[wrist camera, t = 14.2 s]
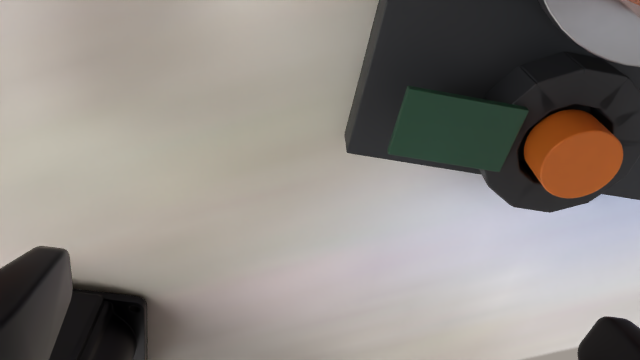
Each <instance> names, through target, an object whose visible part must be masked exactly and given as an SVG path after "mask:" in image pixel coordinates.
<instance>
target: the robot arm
mask: <svg viewBox="0 0 640 360" xmlns="http://www.w3.org/2000/svg"><path fill="white" fill-rule="evenodd" d="M0 360H147V303H146V301H145V300H144V299H143V298H141V297H138V296H131V295H122V294H113V293H105V292H96V291H88V290H79V289H73V285H72V275H71V265H70V256H69V253H68V251H67V250H65V249H63V248H55V247H47V246H38V247H35V248H33V249H32V250H30V251H28V252H27V253H25V254H23V255H22V256H20V257H19V258H17V259H15V260H14V261H12V262H10V263H9V264H7V265H6V266H4V267H2V268H1V269H0ZM578 360H640V328H639V327H637V326H636V325H635V324H633V323H632V322H630V321H629V320H627V319H623V318H616V317H607V316H606V317H602V318H600V319H599V320H598V321H597V322H596V323H595V325H594V326H593V327H592V329H591V330H590V331H589V333H588V334H587V335H586V337H585V338H584V339H583V340H582V342H581V343H580V345H579V348H578Z"/></svg>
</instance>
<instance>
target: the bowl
mask: <svg viewBox="0 0 640 360" xmlns="http://www.w3.org/2000/svg"><path fill="white" fill-rule="evenodd" d="M620 1H621V2H622V3H623V4H625V5H626V6H627V7H628V8H629V9H630V10H631V11H632V12H633V13H635V14H636V15H637V16H638V17H639V18H640V0H620Z"/></svg>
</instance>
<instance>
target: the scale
mask: <svg viewBox="0 0 640 360" xmlns="http://www.w3.org/2000/svg"><path fill="white" fill-rule="evenodd" d="M407 86H414V87H419V88H425V89H430V90H436V91H441V92H447V93H452V94H458V95H463V96H469V97H474V98H480V99H485V100H491V101H496V102H502V103H507V104H513V105H518V106H524V107H526V108H527V109H528V110H529V112H528V114H527V116H526V118H525V120H524V122H523V125H522V127H521V129H520V131H519V133H518V135H517V137H516V139H515V141H514V143H513V145H512V147H511V149H510V151H509V153H508V156H507V158H506V160H505V162H504V164H503V166H502V168H501V170H500V172H495V171H489V170H483V169H476V168H470V167H464V166H458V165H452V164H446V163H439V162H433V161H427V160H421V159H415V158H409V157H403V156H396V155H390V154H388V151H387V149H388V145H389V142H390V139H391V136H392V133H393V130H394V127H395V123H396V120H397V117H398V114H399V111H400V108H401V105H402V102H403V98H404V95H405V92H406V89H407ZM572 109H575V110H582V111H585V112H588V113H590V114H591V115H593V116H594V117H595V118H596V119H597V120H598V121H599V122H600V123H601V124H602V125H603V126H605V127H606V128H607V129H608V130H609V131H610V132H611V133H612V134H613V135H614V136H615V137H616V138H617V139H618V140H619V141H620V143H621V145H622V148H623V161H622V164H621V167H620V169H619V170H618V172H617V174H616V175H615V176H614V178H613V179H612V180H611V181H610V182H609V183H608V184H606V185H605V186H604V187H602V188H601V189H599V190H598V191H596V192H594V193H591V194H589V195H586V196H583V197H578V198H561V197H557V196H555V195H552V194H551V193H549V192H548V191H546V189H545V188H544V187H543V186H542V184H541V183H540V181H539V180H538V179H537V177H536V176H535V174H534V173H533V171H532V170H531V169H530V167H529V166H528V164H527V163H526V161H525V158H524V144H525V141H526V138H527V136H528V135H529V133H530V131H531V130H532V129H533V128H534V127H535V125H536V124H538V123H539V122H540V121H541V120H543V119H544V118H546V117H547V116H549V115H551V114H553V113H556V112H559V111H563V110H572ZM345 142H346V150H347V153H351V154H357V155H364V156H370V157H376V158H382V159H388V160H395V161H401V162H407V163H413V164H420V165H426V166H432V167H438V168H444V169H451V170H457V171H463V172H469V173H475V174H482V176H483V178H484V180H485V182H486V183H487V185H488V187H490V188H491V189H492V190H493V191H494V192H495V193H497V194H498V195H499V196H500V197H501V198H502V199H504V200H505V201H506V202H507V203H508V204H509V205H511V206H513V207H517V208H523V209H530V210H537V211H543V212H554V211H558V210H562V209H565V208H569V207H573V206H577V205H581V204H585V203H588V202H589V201H591V200H593V199H594V198H596V197H597V196H599V195H600V194H606V195H612V196H618V197H625V198H631V199H637V200H640V67H635V66H627V65H622V64H619V63H615V62H612V61H608V60H605V59H603V58H601V57H599V56H596V55H594V54H592V53H590V52H588V51H587V50H585V49H584V48H582V47H581V46H579V45H578V44H576V43H575V42H574V41H572V40H571V39H569V38H568V37H567V36H566V35H565V34H564V33H562V32H561V31H560V30H559V29H558V28H557V27H556V26H555V25H554V24H553V22H552V21H551V20H550V18H549V17H548V15H547V14H546V13H545V11H544V10H543V9H542V7H541V5H540V3H539V1H538V0H379V3H378V7H377V10H376V14H375V18H374V22H373V26H372V30H371V34H370V38H369V42H368V46H367V49H366V53H365V57H364V61H363V65H362V69H361V73H360V77H359V81H358V85H357V88H356V92H355V96H354V100H353V104H352V108H351V112H350V116H349V120H348V124H347V127H346V131H345Z"/></svg>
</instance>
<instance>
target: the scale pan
mask: <svg viewBox="0 0 640 360" xmlns="http://www.w3.org/2000/svg"><path fill="white" fill-rule="evenodd" d="M538 1H539V3H540V5H541V7H542V9H543V10H544V11H545V13H546V14H547V15H548V17H549V18H550V20H551V21H552V22H553V24H554V25H555V26H556V27H557V28H558V29H559V30H560V31H561V32H562V33H564V34H565V35H566V36H567V37H568V38H569V39H571V40H572V41H574V42H575V43H576V44H578V45H579V46H581V47H582V48H584V49H585V50H587V51H588V52H590V53H592V54H594V55H596V56H599V57H601V58H603V59H605V60H608V61H612V62H615V63H619V64H622V65H627V66H635V67H640V18H639V17H638V16H637V15H636V14H635V13H633V12H632V11H631V10H630V9H629V8H628V7H627V6H626V5H625V4H623V3H622V2H621V1H620V0H538ZM528 112H529V110H528V109H527V108H526V107H524V106H518V105H513V104H507V103H502V102H496V101H491V100H485V99H480V98H474V97H469V96H463V95H458V94H452V93H447V92H441V91H436V90H430V89H425V88H419V87H414V86H407V89H406V92H405V95H404V98H403V102H402V105H401V108H400V111H399V114H398V117H397V120H396V123H395V127H394V130H393V133H392V136H391V139H390V142H389V145H388V149H387V151H388V154H390V155H396V156H403V157H409V158H415V159H421V160H427V161H433V162H439V163H446V164H452V165H458V166H464V167H470V168H476V169H483V170H489V171H495V172H500V170H501V168H502V166H503V164H504V162H505V160H506V158H507V156H508V153H509V151H510V149H511V147H512V145H513V143H514V141H515V139H516V137H517V135H518V133H519V131H520V129H521V127H522V125H523V122H524V120H525V118H526V116H527V114H528Z"/></svg>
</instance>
